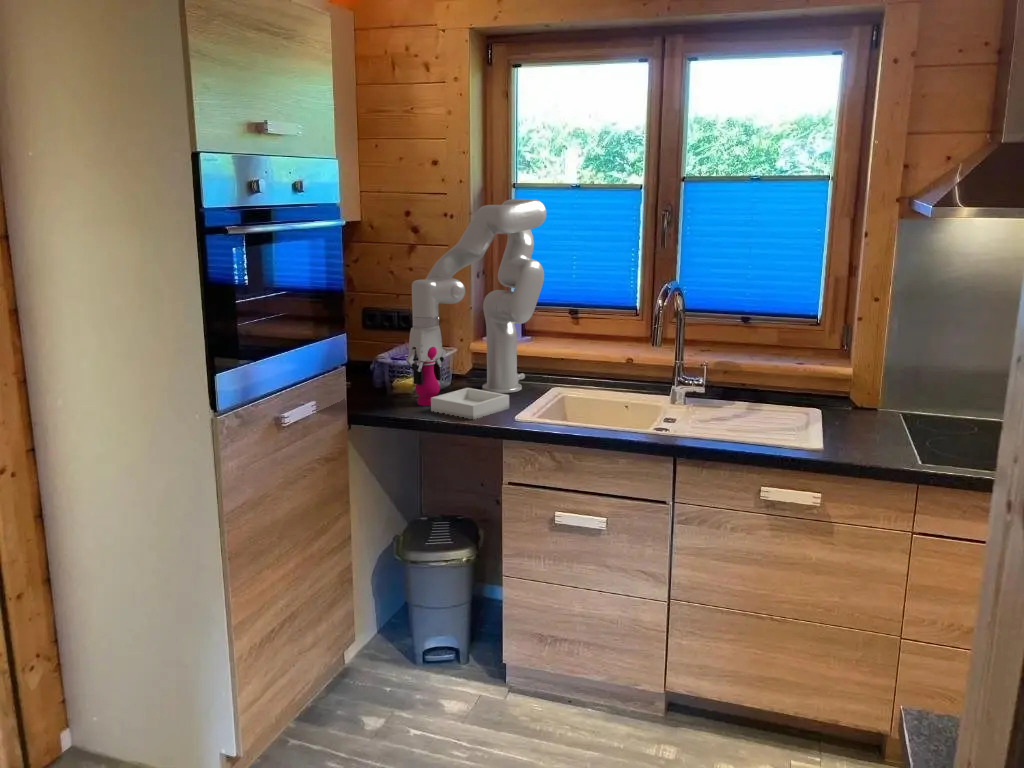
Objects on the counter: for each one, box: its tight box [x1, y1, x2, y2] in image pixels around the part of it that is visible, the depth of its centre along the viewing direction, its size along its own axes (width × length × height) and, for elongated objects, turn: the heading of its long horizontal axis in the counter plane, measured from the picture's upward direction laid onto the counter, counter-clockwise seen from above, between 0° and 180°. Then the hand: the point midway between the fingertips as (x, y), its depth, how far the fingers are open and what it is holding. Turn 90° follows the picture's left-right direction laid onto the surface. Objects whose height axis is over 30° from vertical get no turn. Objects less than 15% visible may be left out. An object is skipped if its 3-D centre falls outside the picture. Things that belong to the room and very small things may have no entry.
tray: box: [430, 387, 510, 421], centre depth 241 cm, size 16×16×4 cm
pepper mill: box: [414, 347, 441, 407], centre depth 246 cm, size 7×7×20 cm
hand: (427, 381), depth 247 cm, fingers open, 6 cm apart
